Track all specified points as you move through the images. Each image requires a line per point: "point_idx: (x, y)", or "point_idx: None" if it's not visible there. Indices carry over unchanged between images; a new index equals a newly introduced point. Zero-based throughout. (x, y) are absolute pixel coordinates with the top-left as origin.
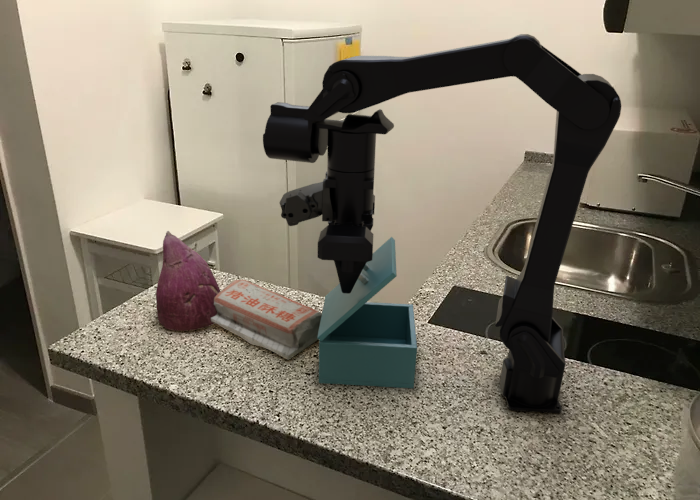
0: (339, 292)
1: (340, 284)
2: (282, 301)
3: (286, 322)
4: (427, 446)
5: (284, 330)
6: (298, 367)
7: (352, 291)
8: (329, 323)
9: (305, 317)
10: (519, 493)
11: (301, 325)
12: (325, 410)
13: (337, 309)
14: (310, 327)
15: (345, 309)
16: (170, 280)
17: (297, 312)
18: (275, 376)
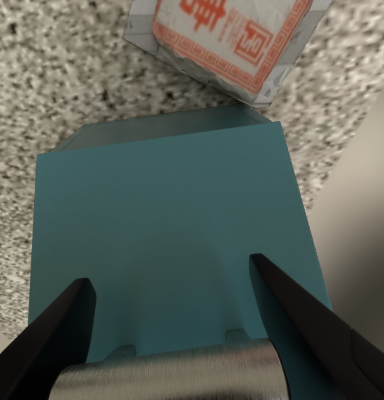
0: (221, 197)
1: (42, 313)
2: None
3: (176, 5)
4: (24, 276)
5: (155, 7)
6: (118, 69)
7: (146, 276)
8: (59, 194)
9: (213, 64)
10: (8, 337)
11: (180, 60)
12: (18, 153)
13: (107, 215)
14: (203, 81)
15: (58, 262)
16: None
17: (237, 29)
18: (67, 21)
